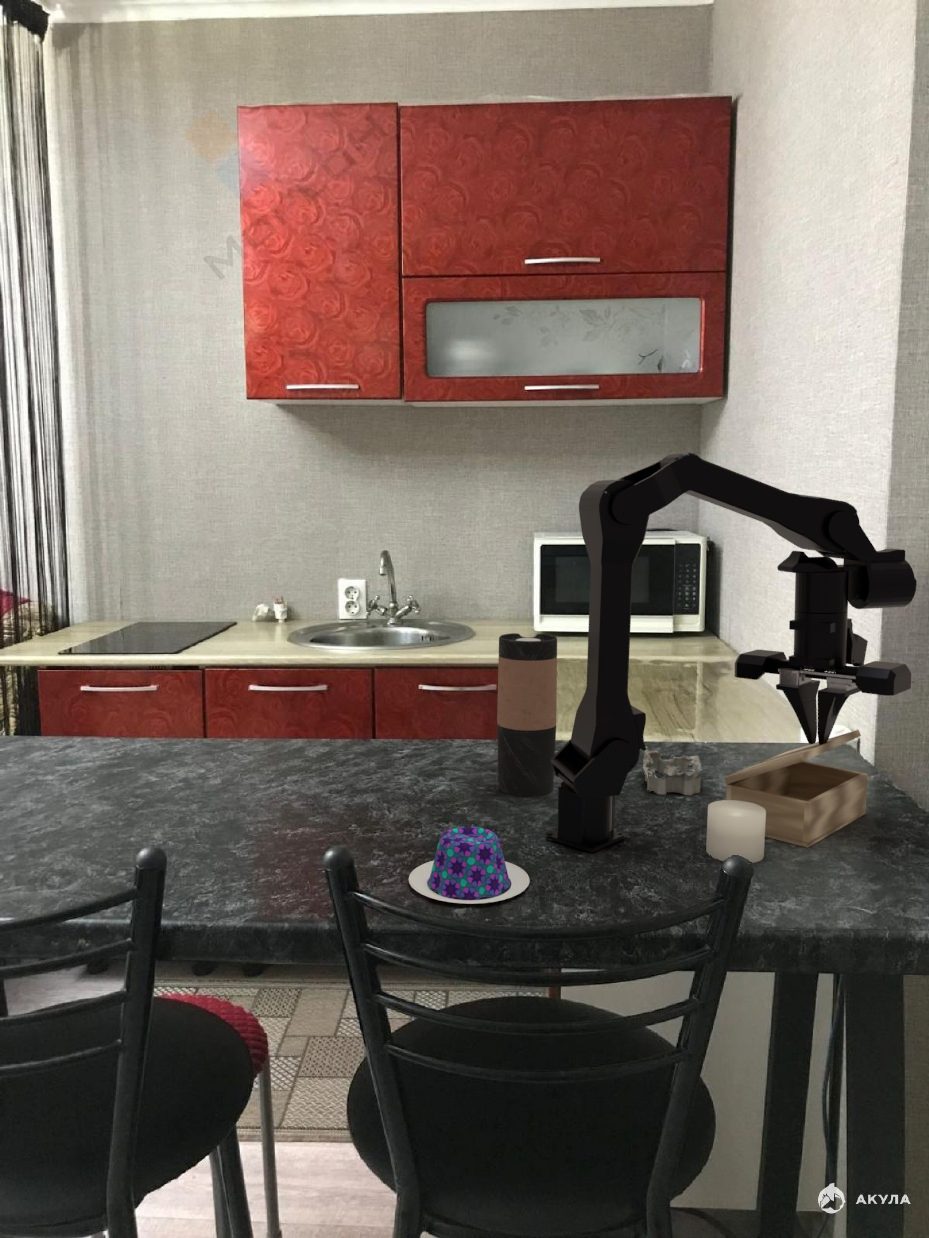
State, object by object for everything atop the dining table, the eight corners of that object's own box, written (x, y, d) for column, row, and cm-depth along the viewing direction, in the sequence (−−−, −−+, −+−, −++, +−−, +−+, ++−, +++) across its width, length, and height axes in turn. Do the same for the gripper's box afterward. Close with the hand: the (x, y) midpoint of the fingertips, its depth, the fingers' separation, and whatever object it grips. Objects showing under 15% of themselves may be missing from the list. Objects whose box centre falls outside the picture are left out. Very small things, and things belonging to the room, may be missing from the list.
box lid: (802, 761, 108) (800, 754, 108) (726, 784, 115) (724, 777, 115) (861, 735, 119) (858, 729, 120) (788, 757, 126) (786, 751, 126)
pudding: (554, 894, 96) (555, 842, 96) (448, 921, 90) (448, 866, 89) (486, 855, 106) (486, 808, 106) (387, 877, 100) (387, 827, 99)
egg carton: (641, 773, 138) (642, 744, 137) (696, 775, 137) (697, 746, 136) (643, 795, 127) (643, 764, 127) (702, 798, 126) (704, 767, 126)
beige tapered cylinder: (747, 868, 103) (749, 822, 102) (695, 853, 107) (697, 808, 106) (773, 853, 107) (776, 808, 106) (723, 839, 111) (725, 796, 110)
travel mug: (525, 801, 124) (528, 643, 121) (484, 787, 130) (485, 636, 127) (567, 789, 129) (570, 637, 126) (525, 776, 135) (528, 630, 132)
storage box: (807, 847, 108) (810, 803, 108) (725, 826, 115) (726, 784, 115) (865, 813, 120) (867, 773, 119) (787, 795, 127) (789, 758, 126)
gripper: (931, 609, 112) (926, 743, 114) (776, 600, 125) (774, 721, 127) (894, 619, 104) (889, 763, 106) (733, 608, 117) (731, 737, 119)
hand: (817, 744), depth 115 cm, fingers closed
